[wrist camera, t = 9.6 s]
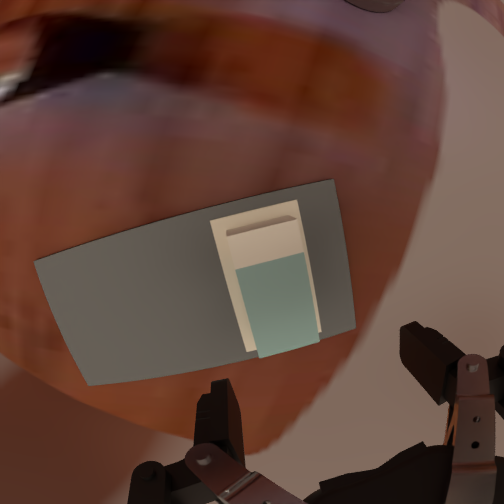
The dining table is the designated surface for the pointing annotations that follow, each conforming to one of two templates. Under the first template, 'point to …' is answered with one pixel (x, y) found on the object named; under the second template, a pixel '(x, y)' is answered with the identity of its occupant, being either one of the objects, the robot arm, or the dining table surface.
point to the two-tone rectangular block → (274, 284)
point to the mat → (187, 287)
